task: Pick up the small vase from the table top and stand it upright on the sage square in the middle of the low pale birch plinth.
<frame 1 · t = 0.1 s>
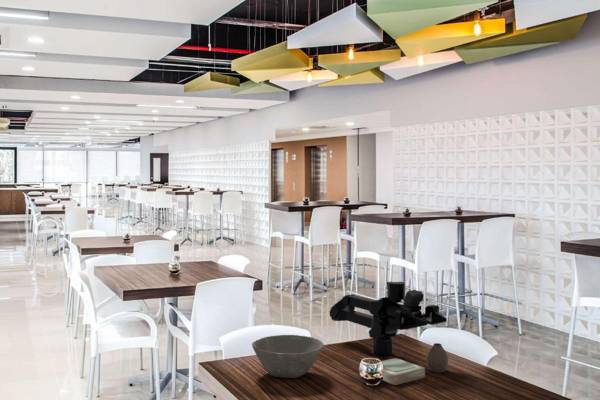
hand: (436, 321, 181), 17 cm above the table, tool horizontal, fingers open, 9 cm apart
vase: (437, 371, 183), on the table
plinth: (395, 375, 178), on the table
ceramic bowl: (287, 375, 179), on the table
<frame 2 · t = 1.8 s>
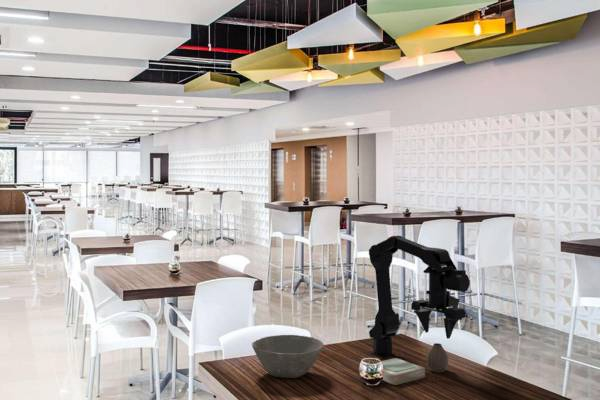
hand: (437, 335, 183), 12 cm above the table, tool pointing down, fingers open, 9 cm apart
nothing on the table moved.
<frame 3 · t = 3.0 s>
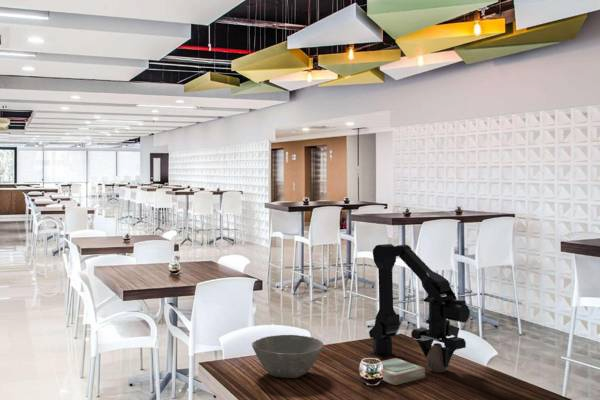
hand: (437, 364, 183), 2 cm above the table, tool pointing down, fingers closed on vase, 7 cm apart
vase: (437, 371, 183), on the table, touching gripper
everything else where it was.
when the fingers open (6 cm above the table, at t = 7.6 s): vase drops 1 cm, resting on plinth.
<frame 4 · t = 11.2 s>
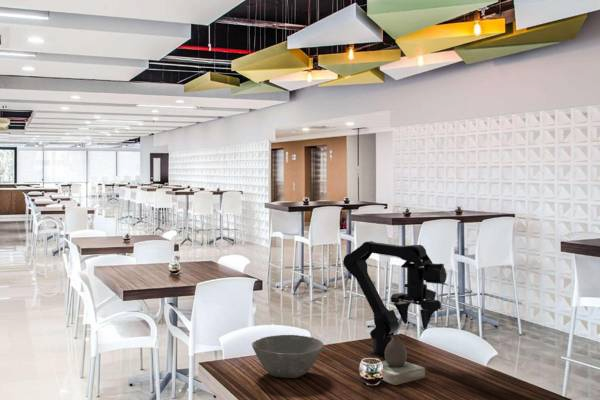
hand: (415, 326, 194), 12 cm above the table, tool pointing down, fingers open, 9 cm apart
vase: (395, 366, 178), point 3 cm above the table, touching plinth
everything else where it was.
at the end: vase inside the target area on the plinth (0.1 cm from its centre), point 3.0 cm above the plinth's base; vase tilted 0°; vase touching plinth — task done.
